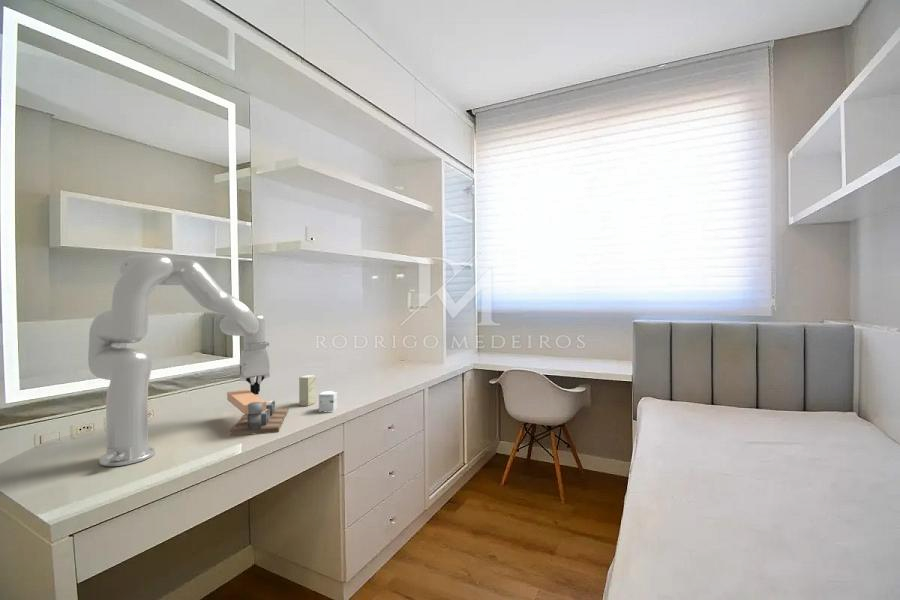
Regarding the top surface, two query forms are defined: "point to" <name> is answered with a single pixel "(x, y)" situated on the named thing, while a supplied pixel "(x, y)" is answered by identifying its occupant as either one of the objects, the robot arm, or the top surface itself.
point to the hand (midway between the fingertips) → (255, 394)
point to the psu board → (268, 428)
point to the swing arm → (246, 401)
